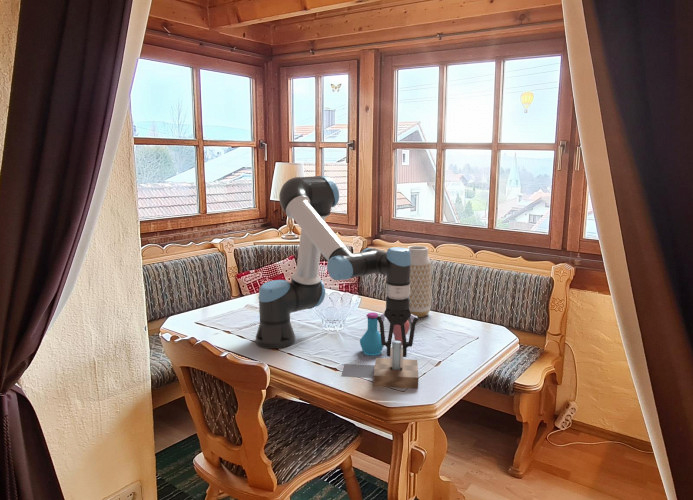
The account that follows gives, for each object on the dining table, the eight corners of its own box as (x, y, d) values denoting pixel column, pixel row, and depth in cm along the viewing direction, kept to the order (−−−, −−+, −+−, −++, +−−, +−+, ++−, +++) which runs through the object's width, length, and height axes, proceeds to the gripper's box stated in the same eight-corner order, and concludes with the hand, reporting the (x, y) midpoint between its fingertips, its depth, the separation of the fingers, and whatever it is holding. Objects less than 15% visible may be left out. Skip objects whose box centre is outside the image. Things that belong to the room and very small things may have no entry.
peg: (391, 378, 172) (392, 343, 170) (391, 374, 175) (392, 340, 173) (400, 379, 172) (401, 344, 170) (400, 375, 175) (401, 340, 173)
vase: (435, 312, 242) (438, 246, 235) (423, 321, 230) (425, 252, 224) (408, 307, 249) (410, 243, 243) (394, 315, 237) (396, 248, 231)
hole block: (373, 387, 168) (373, 375, 167) (375, 368, 182) (375, 357, 181) (418, 389, 166) (418, 377, 166) (416, 370, 180) (417, 359, 179)
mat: (341, 377, 175) (341, 376, 175) (344, 364, 185) (344, 363, 184) (377, 379, 174) (377, 378, 174) (378, 366, 183) (378, 365, 183)
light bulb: (396, 351, 196) (397, 320, 194) (386, 345, 203) (387, 315, 200) (412, 348, 200) (413, 318, 197) (402, 342, 206) (402, 312, 204)
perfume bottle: (358, 348, 199) (358, 310, 196) (382, 347, 200) (383, 309, 197) (361, 358, 190) (361, 318, 187) (386, 357, 191) (387, 317, 188)
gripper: (372, 298, 166) (371, 369, 170) (423, 300, 164) (420, 371, 169) (373, 292, 173) (373, 359, 177) (422, 293, 171) (420, 362, 176)
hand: (396, 365), depth 173 cm, fingers closed on peg, 3 cm apart
